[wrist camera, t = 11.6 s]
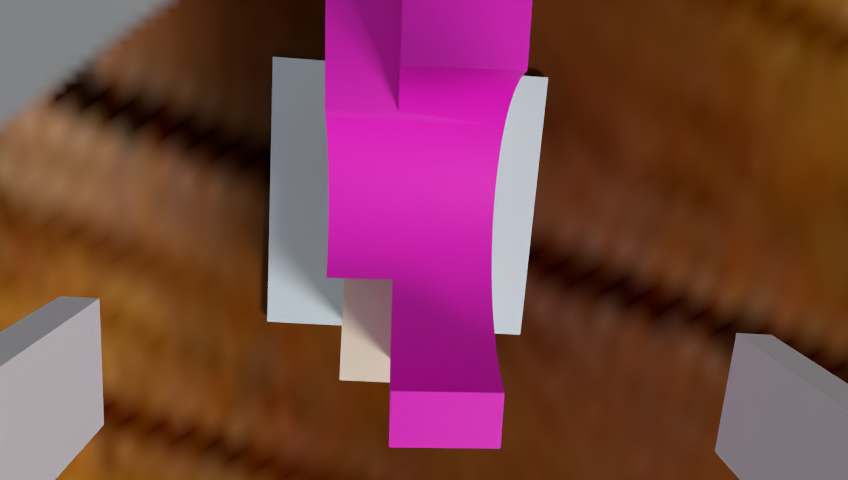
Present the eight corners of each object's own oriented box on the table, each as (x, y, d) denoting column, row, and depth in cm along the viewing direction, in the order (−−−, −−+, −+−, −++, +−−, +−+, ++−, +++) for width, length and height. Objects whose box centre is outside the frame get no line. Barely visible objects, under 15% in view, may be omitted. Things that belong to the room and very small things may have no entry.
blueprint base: (545, 77, 34) (587, 73, 27) (518, 330, 37) (548, 390, 30) (274, 57, 33) (241, 47, 26) (269, 317, 36) (237, 375, 29)
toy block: (337, 0, 26) (315, -37, 18) (495, 7, 26) (534, -26, 19) (333, 357, 29) (313, 446, 22) (473, 360, 29) (500, 448, 22)
